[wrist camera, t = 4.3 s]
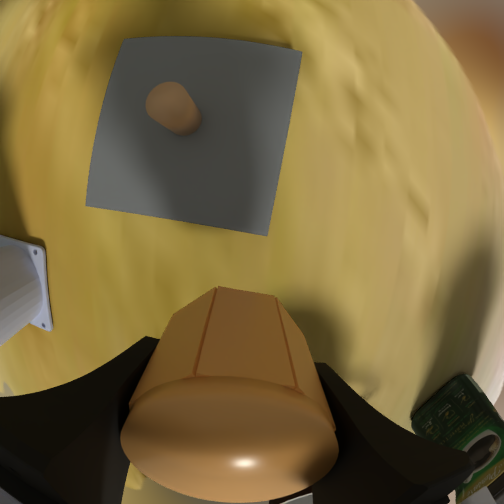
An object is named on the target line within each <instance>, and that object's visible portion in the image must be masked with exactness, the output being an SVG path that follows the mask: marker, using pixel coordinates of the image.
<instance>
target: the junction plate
mask: <svg viewBox="0 0 504 504" xmlns="http://www.w3.org/2000/svg"><path fill="white" fill-rule="evenodd" d="M301 57H302V52H301V51H297V50H292V49H288V48H283V47H278V46H273V45H268V44H262V43H256V42H249V41H242V40H233V39H224V38H211V37H191V36H160V37H141V38H129V39H124V40H123V43H122V46H121V48H120V51H119V54H118V56H117V59H116V62H115V65H114V68H113V71H112V74H111V77H110V80H109V83H108V87H107V90H106V94H105V97H104V101H103V105H102V109H101V113H100V117H99V121H98V126H97V130H96V135H95V140H94V146H93V151H92V157H91V163H90V170H89V178H88V186H87V195H86V206H89V207H96V208H102V209H109V210H115V211H122V212H128V213H135V214H141V215H147V216H153V217H159V218H165V219H171V220H177V221H183V222H189V223H195V224H201V225H207V226H213V227H218V228H224V229H230V230H235V231H241V232H246V233H252V234H257V235H263V236H267V235H268V230H269V225H270V220H271V215H272V210H273V205H274V200H275V195H276V190H277V185H278V180H279V174H280V169H281V164H282V159H283V154H284V149H285V143H286V138H287V133H288V128H289V122H290V117H291V112H292V106H293V101H294V96H295V90H296V85H297V79H298V74H299V68H300V63H301Z"/></svg>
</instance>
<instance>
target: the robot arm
mask: <svg viewBox="0 0 504 504" xmlns="http://www.w3.org/2000/svg"><path fill="white" fill-rule="evenodd" d="M36 250H37V252H36ZM28 323H31V324H33V325H35V326H37V327H40V328H42V329H44V330H47V331H49V332H50V331H51V330H53V324H52V318H51V311H50V304H49V295H48V286H47V273H46V254H45V249H44V248H43V247H42V246H39V245H35V244H31V243H28V242H24V241H20V240H17V239H13V238H10V237H6V236H3V235H0V346H1V345H3V344H4V343H5V342H6V341H7V340H9V339H10V338H11V337H12V336H13V335H15V334H16V333H17V332H18V331H19V330H21V329H22V328H23V327H24V326H26V325H27V324H28ZM159 341H160V339H156V338H152V337H148V336H145V337H144V338H142V339H141V340H139V341H138V342H136V343H135V344H134V345H132V346H131V347H130V348H128V349H127V350H125V351H124V352H122V353H121V354H120V355H118V356H117V357H115V358H114V359H112V360H111V361H109V362H107V363H106V364H104V365H102V366H101V367H99V368H97V369H95V370H94V371H92V372H90V373H88V374H86V375H84V376H82V377H80V378H78V379H75V380H73V381H71V382H68V383H66V384H63V385H60V386H57V387H53V388H50V389H47V390H44V391H40V392H35V393H31V394H25V395H19V396H10V397H0V504H121V501H122V495H123V491H124V486H125V481H126V477H127V473H128V468H129V465H130V460H129V459H128V458H127V456H126V454H125V453H124V451H123V448H122V446H121V440H120V436H121V431H122V428H123V426H124V424H125V421H126V419H127V417H128V415H129V412H130V409H129V402H130V400H131V398H132V396H133V393H134V391H135V389H136V387H137V385H138V383H139V381H140V379H141V377H142V375H143V373H144V371H145V369H146V367H147V365H148V362H149V360H150V358H151V356H152V354H153V352H154V350H155V348H156V346H157V345H158V343H159ZM314 365H315V368H316V370H317V373H318V376H319V379H320V382H321V385H322V388H323V391H324V394H325V396H326V399H327V402H328V405H329V408H330V411H331V414H332V417H333V420H334V423H335V426H336V431H335V432H334V433H335V436H336V439H337V442H338V447H339V453H338V458H337V460H336V462H335V464H334V466H333V467H332V469H331V470H330V471H329V472H328V473H327V474H326V475H325V476H324V477H323V478H321V479H320V480H319V481H317V482H316V483H314V484H313V485H312V497H313V504H448V503H449V502H450V500H449V497H448V494H450V493H451V492H452V491H453V490H455V489H456V488H457V487H458V486H459V485H460V484H462V483H463V482H464V481H465V480H466V479H467V478H468V477H469V476H470V475H471V474H472V473H473V471H474V469H475V465H474V463H473V462H472V460H471V458H470V457H469V455H468V454H467V452H466V451H462V450H458V449H454V448H450V447H446V446H443V445H440V444H437V443H434V442H431V441H429V440H426V439H424V438H422V437H420V436H417V435H415V434H413V433H411V432H410V431H408V430H406V429H404V428H402V427H400V426H399V425H397V424H396V423H394V422H393V421H391V420H390V419H388V418H387V417H385V416H384V415H382V414H381V413H380V412H378V411H377V410H376V409H374V408H373V407H372V406H371V405H370V404H368V403H367V402H366V401H365V400H364V399H363V398H361V397H360V396H359V395H358V394H357V393H356V392H355V391H354V390H353V389H352V388H351V387H350V386H349V385H348V384H347V383H346V382H345V381H344V380H343V379H342V378H340V377H339V376H338V375H337V374H336V373H335V372H334V371H333V370H332V369H331V368H330V367H329V366H328V365H327V364H326V363H316V362H314ZM459 504H496V502H495V500H494V499H493V497H492V495H491V493H490V492H489V490H488V488H487V487H486V486H484V487H483V488H481V489H480V490H478V491H477V492H475V493H474V494H472V495H470V496H469V497H468V498H466V499H465V500H463V501H462V502H461V503H459Z"/></svg>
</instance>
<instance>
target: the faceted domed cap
mask: <svg viewBox="0 0 504 504" xmlns="http://www.w3.org/2000/svg"><path fill="white" fill-rule="evenodd" d="M129 409H130V412H129V415H128V417H127V419H126V421H125V424H124V426H123V428H122V431H121V436H120V440H121V446H122V448H123V451H124V453H125V454H126V456H127V458H128V459H129V460H130V462H131V463H132V464H133V465H134V466H135V467H136V468H137V469H138V470H139V471H140V472H142V473H143V474H144V475H146V476H147V477H149V478H150V479H152V480H153V481H155V482H157V483H159V484H160V485H163V486H164V487H167V488H169V489H171V490H174V491H176V492H179V493H181V494H184V495H188V496H192V497H195V498H199V499H205V500H210V501H217V502H230V503H246V502H259V501H266V500H272V499H276V498H280V497H284V496H287V495H290V494H293V493H296V492H298V491H301V490H303V489H305V488H307V487H309V486H311V485H313V484H314V483H316V482H317V481H319V480H320V479H321V478H323V477H324V476H325V475H326V474H327V473H328V472H329V471H330V470H331V469H332V467H333V466H334V464H335V462H336V460H337V458H338V453H339V447H338V442H337V439H336V436H335V433H334V432H335V431H336V426H335V423H334V420H333V417H332V414H331V411H330V408H329V405H328V402H327V399H326V396H325V394H324V391H323V388H322V385H321V382H320V379H319V376H318V373H317V370H316V368H315V365H314V362H313V359H312V356H311V353H310V351H309V348H308V345H307V342H306V339H305V337H304V334H303V333H302V332H301V330H300V329H299V328H298V326H297V325H296V323H295V322H294V321H293V319H292V318H291V316H290V315H289V314H288V312H287V311H286V310H285V308H284V307H283V305H282V304H281V303H280V301H279V300H278V298H277V297H276V298H275V297H274V296H273V295H267V294H261V293H255V292H249V291H243V290H237V289H231V288H226V287H220V286H218V289H217V288H216V287H214V288H213V289H211V290H210V291H208V292H207V293H205V294H203V295H202V296H200V297H199V298H197V299H196V300H194V301H193V302H191V303H190V304H188V305H187V306H185V307H183V308H182V309H180V310H179V311H177V312H176V313H174V314H173V316H172V317H171V319H170V321H169V323H168V325H167V327H166V329H165V331H164V333H163V335H162V337H161V339H160V341H159V343H158V345H157V346H156V348H155V350H154V352H153V354H152V356H151V358H150V360H149V362H148V365H147V367H146V369H145V371H144V373H143V375H142V377H141V379H140V381H139V383H138V385H137V387H136V389H135V391H134V393H133V396H132V398H131V400H130V402H129Z"/></svg>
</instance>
